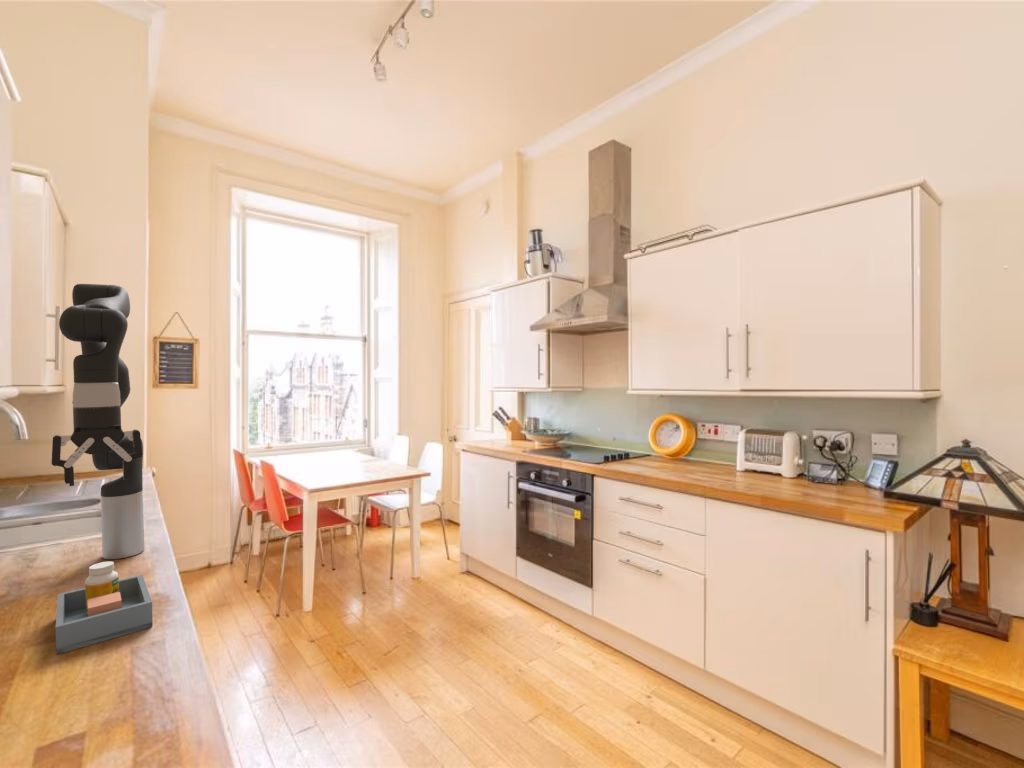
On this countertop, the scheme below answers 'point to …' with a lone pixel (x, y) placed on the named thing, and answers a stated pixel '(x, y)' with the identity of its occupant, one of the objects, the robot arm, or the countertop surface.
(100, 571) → the supplement bottle
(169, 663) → the countertop surface
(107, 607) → the terracotta cube
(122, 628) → the tote
